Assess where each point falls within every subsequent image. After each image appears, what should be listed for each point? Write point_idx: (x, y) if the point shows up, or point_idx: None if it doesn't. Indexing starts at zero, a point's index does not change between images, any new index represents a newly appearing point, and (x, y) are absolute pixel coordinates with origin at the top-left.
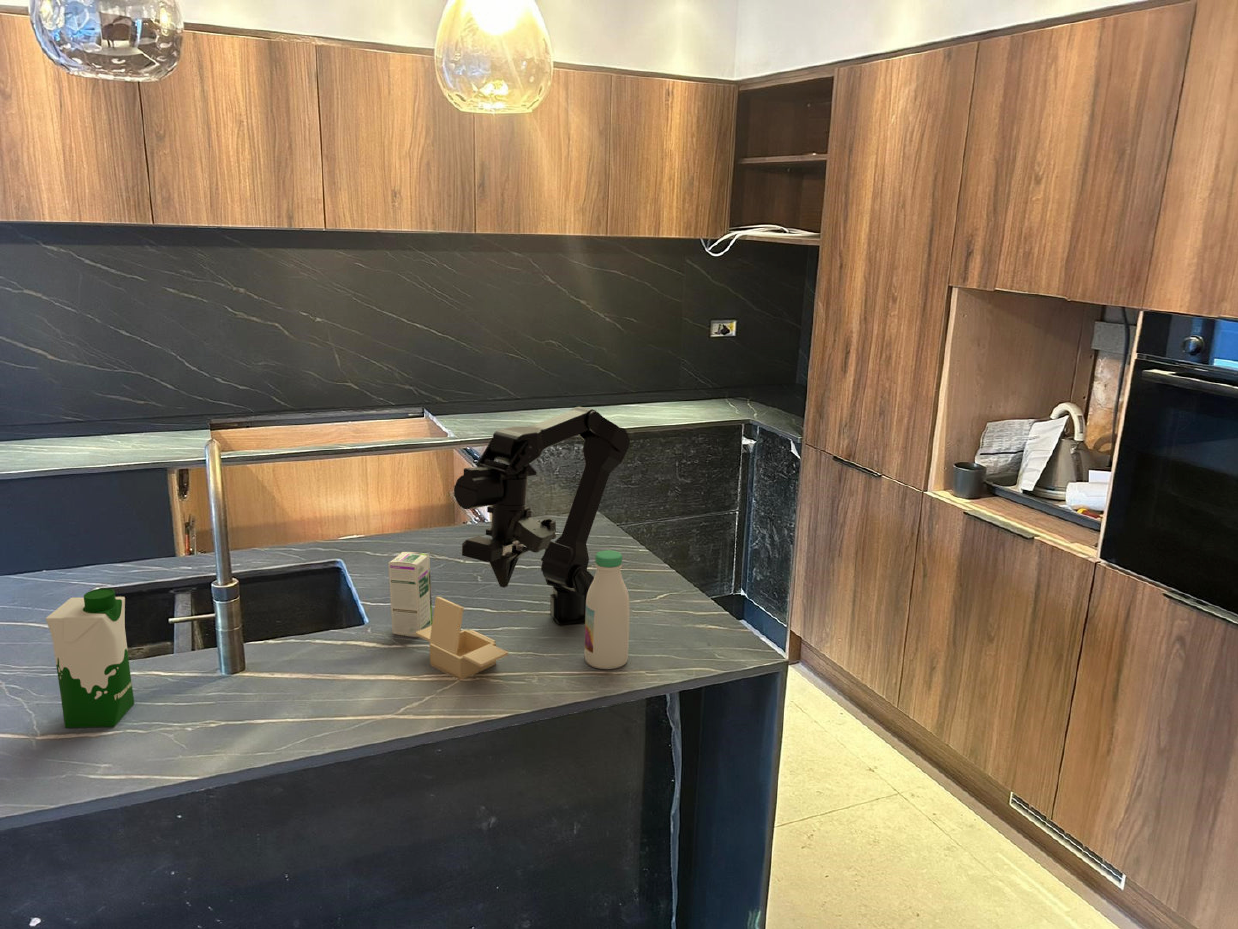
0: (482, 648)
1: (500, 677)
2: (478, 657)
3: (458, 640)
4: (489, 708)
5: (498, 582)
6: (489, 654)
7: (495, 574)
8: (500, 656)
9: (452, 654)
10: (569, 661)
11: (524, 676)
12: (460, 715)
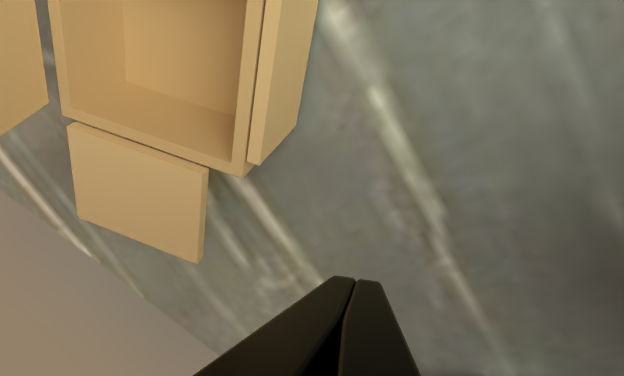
0: (153, 166)
1: (222, 190)
2: (98, 186)
3: (7, 128)
4: (95, 230)
5: (313, 291)
6: (139, 212)
7: (250, 342)
8: (162, 247)
9: (58, 67)
10: (433, 340)
11: (271, 251)
12: (29, 183)
